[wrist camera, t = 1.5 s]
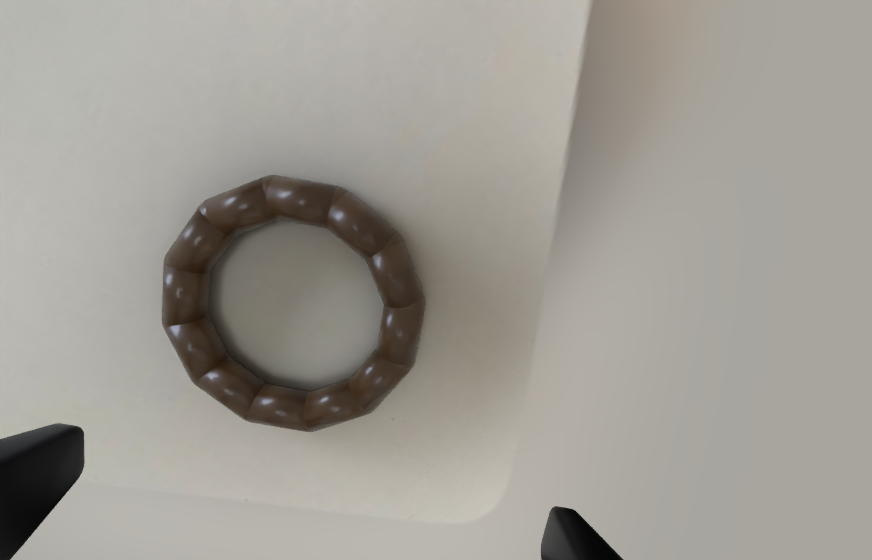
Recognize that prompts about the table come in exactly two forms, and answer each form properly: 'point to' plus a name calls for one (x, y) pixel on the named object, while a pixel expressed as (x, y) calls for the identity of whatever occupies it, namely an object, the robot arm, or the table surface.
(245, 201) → the ring
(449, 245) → the table surface
